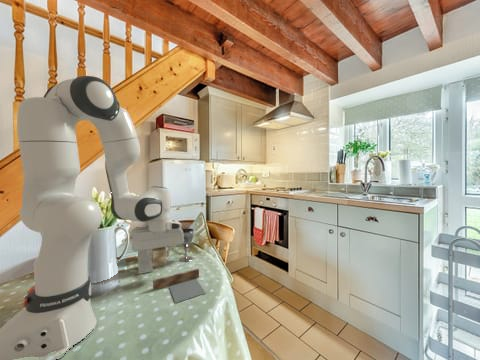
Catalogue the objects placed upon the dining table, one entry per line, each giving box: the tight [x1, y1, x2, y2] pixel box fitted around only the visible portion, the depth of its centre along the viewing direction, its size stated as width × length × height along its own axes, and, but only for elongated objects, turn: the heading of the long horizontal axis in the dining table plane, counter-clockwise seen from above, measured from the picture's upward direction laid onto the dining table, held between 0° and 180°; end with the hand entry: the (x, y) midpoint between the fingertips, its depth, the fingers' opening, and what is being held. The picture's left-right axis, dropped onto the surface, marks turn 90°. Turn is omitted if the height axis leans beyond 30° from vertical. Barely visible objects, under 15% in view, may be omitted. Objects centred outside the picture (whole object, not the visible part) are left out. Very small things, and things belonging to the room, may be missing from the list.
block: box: [152, 247, 167, 267], centre depth 85 cm, size 5×5×6 cm
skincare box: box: [137, 249, 154, 275], centre depth 92 cm, size 8×6×15 cm
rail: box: [152, 268, 200, 291], centre depth 81 cm, size 18×1×4 cm, turn 121°
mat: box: [168, 278, 207, 304], centre depth 77 cm, size 11×11×1 cm
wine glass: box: [178, 227, 195, 263], centre depth 103 cm, size 8×8×15 cm
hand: (158, 257), depth 85 cm, fingers closed on block, 5 cm apart
